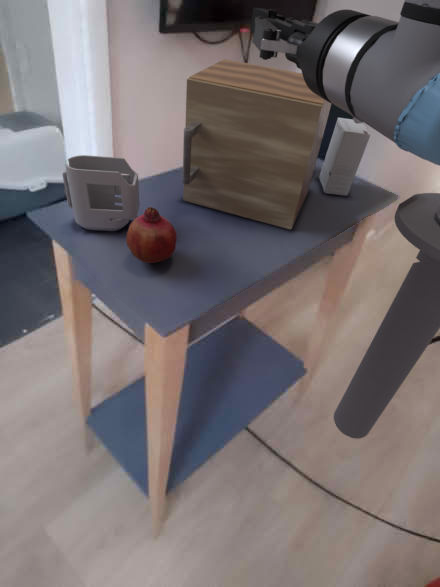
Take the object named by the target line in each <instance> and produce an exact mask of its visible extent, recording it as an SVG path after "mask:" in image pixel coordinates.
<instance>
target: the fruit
mask: <svg viewBox="0 0 440 587" xmlns="http://www.w3.org/2000/svg"><path fill="white" fill-rule="evenodd" d="M177 235H178V234H177V231H176V229H175V227H174V226H173V225H172V224H171V222H170V221H169V219H167V218H166V217H164V216H162V215H160V213H159V211H158V209H157V208H155V207H154V208H153V206H148V208H145V211H144V212H143V214H141V215H139V216H137V217H136V218H134V219H132V222H130V224H129V226H128V229H127V232H126V239H125V241H126V244H127V245H126V246H127V247H128V249H129V251H130V252H131V254H132V256H133V257H135V258H136V259H137V260H139V261H141V262H143V263H145V264H146V263H147V264H152V263H153V264H154V263H161V262H164V261H166V260H168V259H170V257H172V255H173V254H174V252H175V250H176V248H177V247H176V246H177V245H176V244H177V240H178V236H177Z"/></svg>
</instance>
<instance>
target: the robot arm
mask: <svg viewBox="0 0 440 587" xmlns="http://www.w3.org/2000/svg"><path fill="white" fill-rule="evenodd" d="M251 14H252V15H251V16H252V17H251V23H250V29H249V30H250V31H249V32H250V33H251V34H252V38H251V39H252V41H251V42H252V44H254V46H255V47H256V48H257V50H258V51H259V58H260V59H262V60H265V61H267V60H271V59H272V58H274V59H275V58H278V53H282V54H284V56H285V58H286V60H287V61H289V62H292V63H294V65H296V68H297V69H299V70H301V73H302V75H303V78H304V81H305V83H306V85H307V86H308V88H309V89H310V90H311V91H312V92H313V93H315V94H316V95H318V96H320V97H321V98H323V99H325V100H326V101H328V102H330V103H331V105H334V106H335V107H337V108H339V109H340V110H342V111H344V112H345V113H347V114H348V115H350V116H352V117H353V120H354V122H355V123H356V124H358V123H363V124H366V125H367V126H368V127H370V128H372V129H373V130H375V131H376V132H378V133H379V134H380V135H382V136H384V137H385V138H387V139H388V140H390V141H391V142H392V143H394V144H395V145H396V146H397V147H398V148H399V149H400V150H403V151H405V152H408V153H411V154H413V155H414V156H415V157H418V158H420V159H422V160H424V161H426V162H430V163H432V164H434V165H435V166H439V167H440V0H404V1H403V5H402V7H401V10H400V13H399V14H400V17H399V21H395V20H392V19H389V18H385V17H381V16H378V15H371V14H369V13H368V14H367V13H363V12H360V11H357V10H353V9H339V10H335V11H334V12H331V13H330V14H328V15H326V16H325V17H324V18H322V19H321V20H320V21H319V22H315V21H311V20H310V19H307V18H306V19H303V20H301V21H300V20H297V19H296V18H294V17H288V18H286V16H284V15H282V14H280V13H278V10H277V9H271V8H270V9H269V8H268V9H266V8H262V7H252V13H251ZM435 221H436V222H437V224H438V225H439V226H440V207H439V208H438V210H437V212H436V214H435Z"/></svg>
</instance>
